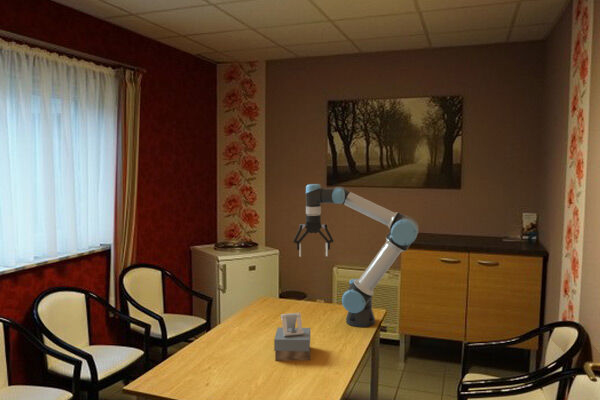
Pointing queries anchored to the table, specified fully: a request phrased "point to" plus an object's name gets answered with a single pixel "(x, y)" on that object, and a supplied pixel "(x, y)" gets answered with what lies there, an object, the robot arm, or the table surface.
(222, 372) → the table surface
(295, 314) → the portable electronic device stand
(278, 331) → the tower top block
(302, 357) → the tower bottom block
